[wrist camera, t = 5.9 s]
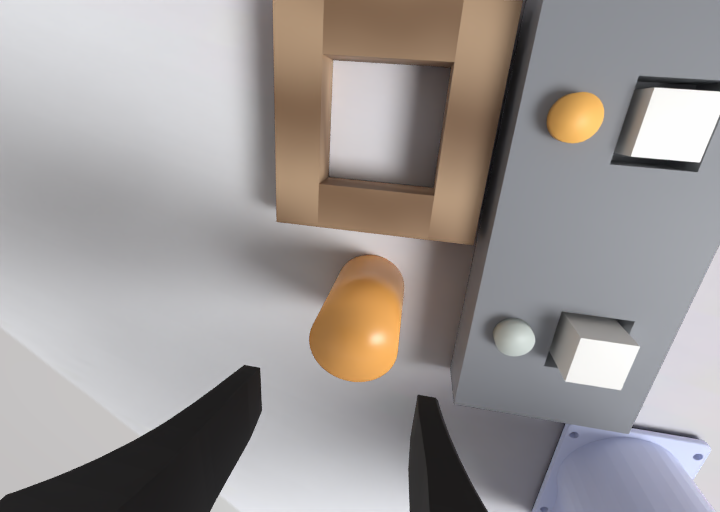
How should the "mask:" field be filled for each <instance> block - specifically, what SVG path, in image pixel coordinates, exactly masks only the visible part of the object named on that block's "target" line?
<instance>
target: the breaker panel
mask: <svg viewBox="0 0 720 512" xmlns="http://www.w3.org/2000/svg"><path fill="white" fill-rule="evenodd" d="M654 87H655V88H671V89H687V90H702V91H718V92H720V0H526V4H525V8H524V13H523V18H522V23H521V28H520V33H519V38H518V42H517V47H516V52H515V57H514V62H513V67H512V72H511V76H510V81H509V86H508V91H507V96H506V101H505V106H504V110H503V115H502V120H501V125H500V130H499V135H498V140H497V144H496V149H495V154H494V159H493V164H492V169H491V174H490V178H489V183H488V188H487V193H486V198H485V203H484V208H483V212H482V217H481V222H480V227H479V232H478V237H477V242H476V246H475V251H474V256H473V261H472V266H471V271H470V275H469V280H468V285H467V290H466V295H465V300H464V305H463V309H462V314H461V319H460V324H459V329H458V334H457V339H456V343H455V348H454V353H453V358H452V363H451V368H450V371H451V380H452V390H453V399H454V404H456V405H462V406H468V407H473V408H479V409H485V410H491V411H497V412H502V413H508V414H514V415H520V416H526V417H531V418H537V419H543V420H549V421H555V422H560V423H566V424H572V425H578V426H584V427H589V428H595V429H601V430H607V431H613V432H618V433H624V434H629V432H630V430H631V428H632V426H633V424H634V422H635V420H636V418H637V416H638V414H639V412H640V410H641V407H642V405H643V403H644V401H645V399H646V397H647V395H648V393H649V391H650V389H651V387H652V385H653V382H654V380H655V378H656V376H657V374H658V372H659V370H660V368H661V366H662V364H663V362H664V360H665V357H666V355H667V353H668V351H669V349H670V347H671V345H672V343H673V341H674V339H675V337H676V335H677V332H678V330H679V328H680V326H681V324H682V322H683V320H684V318H685V316H686V314H687V312H688V310H689V308H690V305H691V303H692V301H693V299H694V297H695V295H696V293H697V291H698V289H699V287H700V285H701V283H702V280H703V278H704V276H705V274H706V272H707V270H708V268H709V266H710V264H711V262H712V260H713V258H714V255H715V253H716V251H717V249H718V247H719V245H720V115H719V118H718V120H717V123H716V125H715V127H714V130H713V132H712V134H711V137H710V139H709V142H708V144H707V146H706V149H705V151H704V154H703V156H702V158H701V161H700V162H688V161H677V160H665V159H653V158H642V157H630V156H626V155H621V154H617V153H614V150H615V147H616V144H617V141H618V138H619V135H620V132H621V129H622V126H623V123H624V120H625V117H626V114H627V110H628V107H629V104H630V101H631V98H632V95H633V92H634V90H635V89H645V88H654ZM562 311H563V312H570V313H577V314H585V315H592V316H599V317H607V318H614V319H615V320H616V321H617V322H618V323H619V324H620V325H621V326H622V327H623V328H624V330H625V331H626V332H627V333H628V334H629V335H630V336H631V337H632V338H633V339H634V340H635V341H636V342H637V344H638V345H639V346H640V348H639V351H638V353H637V355H636V357H635V360H634V362H633V364H632V366H631V369H630V371H629V373H628V375H627V378H626V380H625V382H624V385H623V387H622V389H621V390H616V389H609V388H603V387H597V386H591V385H584V384H578V383H572V382H565V380H564V378H563V376H562V374H561V373H560V371H559V369H558V367H557V365H556V363H555V361H554V359H553V357H552V355H551V354H550V352H549V349H550V346H551V343H552V340H553V337H554V334H555V331H556V328H557V324H558V321H559V318H560V315H561V312H562Z"/></svg>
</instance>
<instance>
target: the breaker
mask: <svg viewBox="0 0 720 512" xmlns="http://www.w3.org/2000/svg"><path fill="white" fill-rule="evenodd" d="M639 348H640V346H639V345H638V344H637V342H636V341H635V340H634V339H633V338H632V337H631V336H630V335H629V334H628V333H627V332H626V331H625V330H624V328H623V327H622V326H621V325H620V324H619V323H618V322H617V321H616V320H615V319H614V318H607V317H599V316H592V315H585V314H577V313H570V312H563V311H562V312H561V315H560V318H559V321H558V324H557V328H556V331H555V334H554V337H553V340H552V343H551V346H550V349H549V352H550V354H551V355H552V357H553V359H554V361H555V363H556V365H557V367H558V369H559V371H560V373H561V374H562V376H563V378H564V380H565V382H572V383H578V384H584V385H591V386H597V387H603V388H609V389H616V390H621V389H622V387H623V385H624V382H625V380H626V378H627V375H628V373H629V371H630V369H631V366H632V364H633V362H634V360H635V357H636V355H637V353H638V351H639Z"/></svg>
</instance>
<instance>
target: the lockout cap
mask: <svg viewBox="0 0 720 512" xmlns="http://www.w3.org/2000/svg"><path fill="white" fill-rule="evenodd" d="M403 296H404V281H403V277H402V275H401V273H400V271H399V270H398V269H397V267H396V266H395V265H394V264H393V263H391V262H390V261H388V260H387V259H385V258H383V257H380V256H375V255H362V256H358V257H355V258H353V259H351V260H350V261H349V262H347V263H346V264H345V265H344V267H343V268H342V269H341V271H340V273H339V275H338V277H337V279H336V281H335V283H334V285H333V287H332V289H331V291H330V293H329V294H328V296H327V298H326V300H325V302H324V304H323V306H322V308H321V310H320V312H319V314H318V316H317V318H316V320H315V322H314V324H313V326H312V328H311V331H310V336H309V344H310V349H311V351H312V354H313V356H314V358H315V359H316V361H317V362H318V363H319V365H320V366H321V367H322V368H323V369H325V370H326V371H327V372H329V373H330V374H332V375H333V376H335V377H338V378H340V379H343V380H347V381H352V382H365V381H371V380H374V379H377V378H379V377H381V376H382V375H384V374H385V373H386V372H388V371H389V370H390V368H391V367H392V366H393V364H394V363H395V360H396V358H397V353H398V344H399V334H400V325H401V315H402V306H403Z"/></svg>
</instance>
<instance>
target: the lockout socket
mask: <svg viewBox="0 0 720 512" xmlns="http://www.w3.org/2000/svg"><path fill="white" fill-rule="evenodd" d="M522 3H523V0H273V48H274V104H275V161H276V217H277V222H282V223H290V224H299V225H307V226H316V227H324V228H332V229H341V230H349V231H358V232H366V233H374V234H383V235H391V236H400V237H408V238H416V239H425V240H433V241H442V242H450V243H458V244H467V245H473V244H474V239H475V234H476V230H477V225H478V220H479V215H480V210H481V205H482V200H483V195H484V190H485V185H486V180H487V175H488V171H489V166H490V161H491V156H492V151H493V146H494V141H495V136H496V131H497V126H498V121H499V116H500V111H501V107H502V102H503V97H504V92H505V87H506V82H507V77H508V72H509V67H510V62H511V57H512V52H513V48H514V43H515V38H516V33H517V28H518V23H519V18H520V13H521V8H522ZM333 60H339V61H355V62H371V63H388V64H404V65H420V66H437V67H451V72H450V78H449V85H448V92H447V99H446V105H445V112H444V119H443V126H442V132H441V139H440V146H439V152H438V159H437V166H436V173H435V179H434V186H433V188H431V187H421V186H411V185H401V184H391V183H382V182H372V181H362V180H352V179H342V178H332V177H329V153H330V126H331V100H332V73H333Z"/></svg>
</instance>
